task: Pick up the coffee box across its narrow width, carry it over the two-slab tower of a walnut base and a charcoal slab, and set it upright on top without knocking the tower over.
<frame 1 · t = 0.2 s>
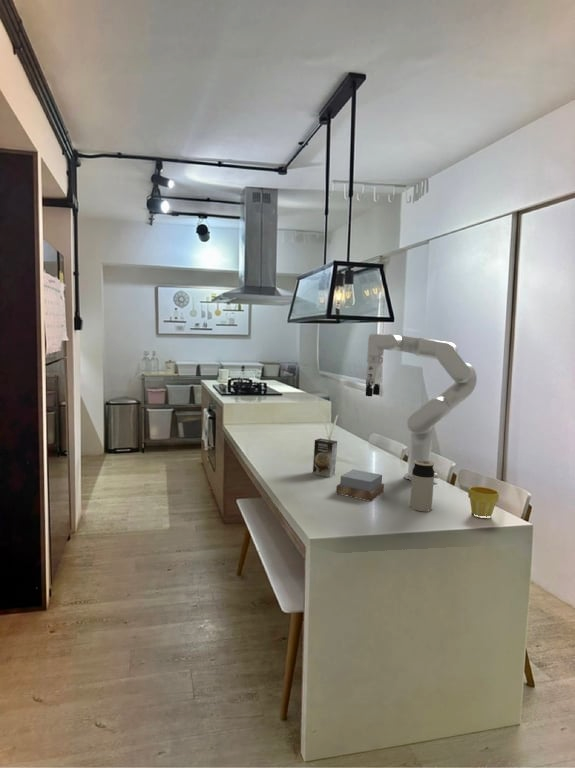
hand: (372, 395, 239), 37 cm above the countertop, tool pointing down, fingers open, 9 cm apart
plant pot: (481, 516, 184), on the countertop
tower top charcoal: (361, 484, 205), point 3 cm above the countertop, touching tower base walnut
travel mug: (420, 509, 189), on the countertop
tower base walnut: (360, 494, 205), on the countertop, touching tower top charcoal
coffee box: (323, 474, 231), on the countertop
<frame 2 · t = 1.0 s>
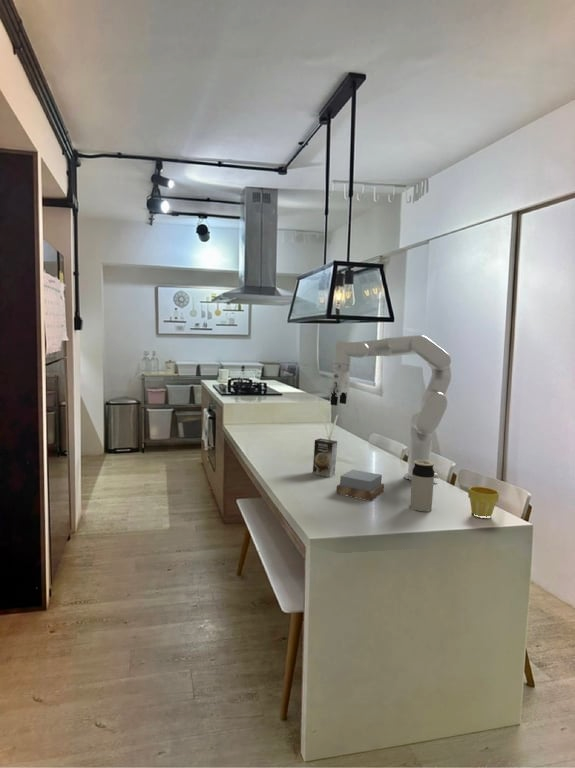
hand: (338, 404, 231), 33 cm above the countertop, tool pointing down, fingers open, 9 cm apart
nothing on the countertop moved.
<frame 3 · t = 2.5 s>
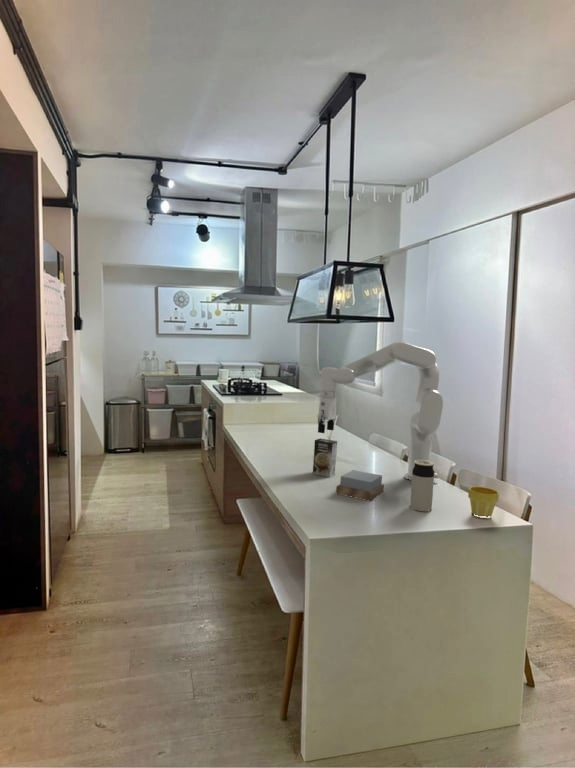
hand: (325, 431, 229), 20 cm above the countertop, tool pointing down, fingers open, 9 cm apart
nothing on the countertop moved.
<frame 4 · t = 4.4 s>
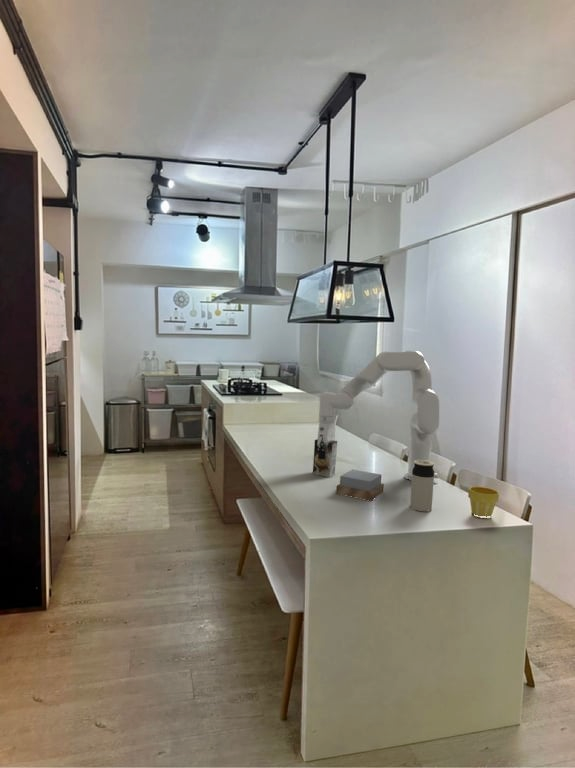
hand: (324, 457, 230), 8 cm above the countertop, tool pointing down, fingers closed on coffee box, 6 cm apart
coffee box: (323, 474, 231), on the countertop, touching gripper
everything else where it was.
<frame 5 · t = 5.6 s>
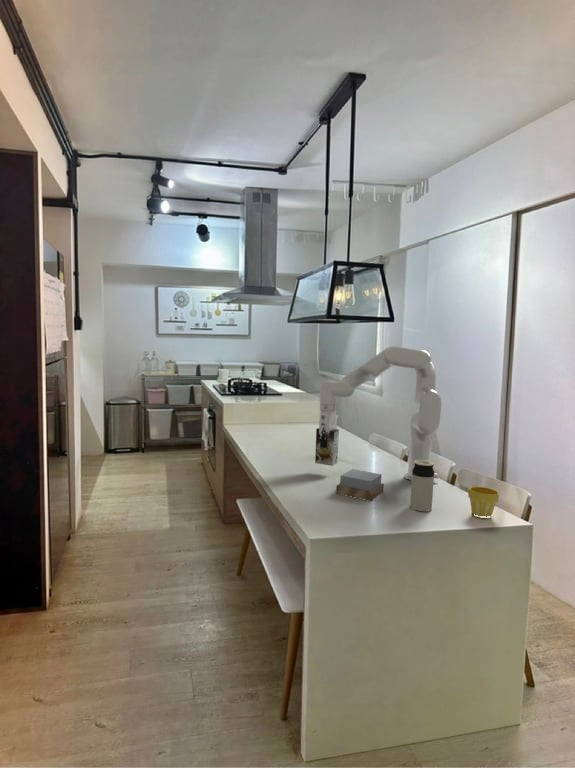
hand: (326, 445, 229), 14 cm above the countertop, tool pointing down, fingers closed on coffee box, 6 cm apart
coffee box: (326, 463, 230), point 5 cm above the countertop, touching gripper
everything else where it was.
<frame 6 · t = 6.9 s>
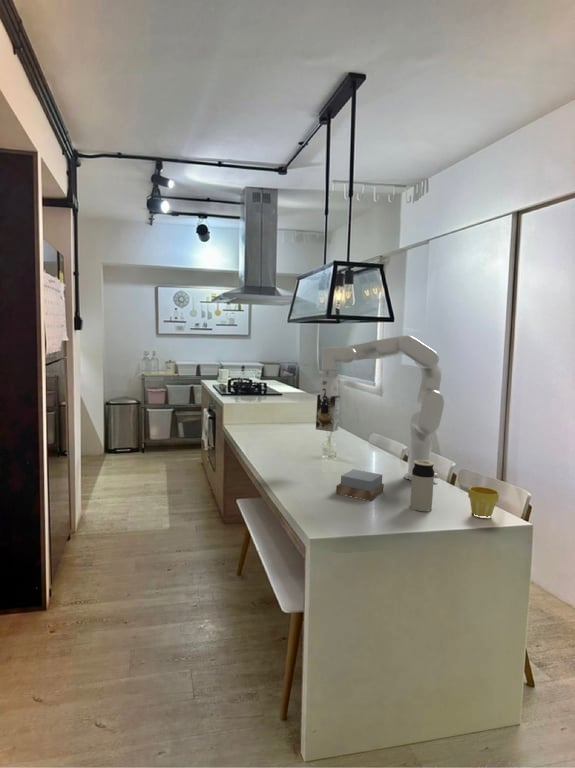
hand: (327, 412, 228), 29 cm above the countertop, tool pointing down, fingers closed on coffee box, 6 cm apart
coffee box: (326, 430, 229), point 21 cm above the countertop, touching gripper
everything else where it was.
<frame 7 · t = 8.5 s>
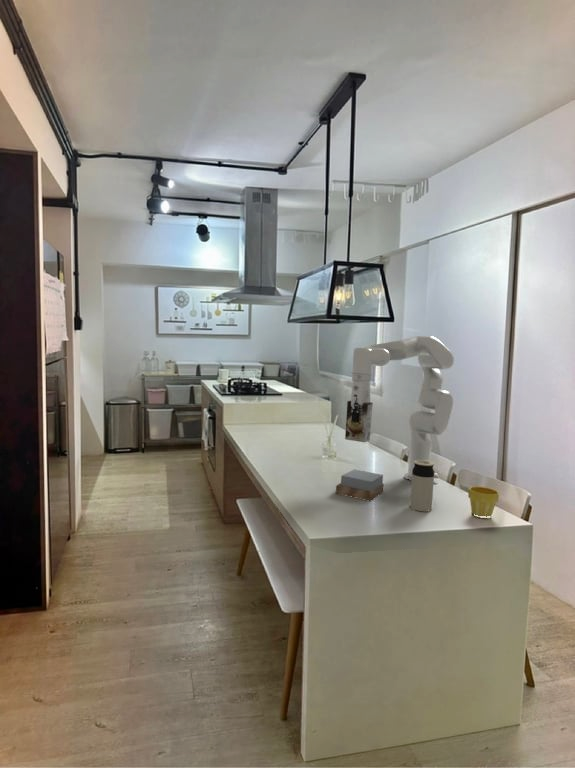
hand: (358, 420, 206), 30 cm above the countertop, tool pointing down, fingers closed on coffee box, 6 cm apart
coffee box: (357, 440, 207), point 21 cm above the countertop, touching gripper
everything else where it was.
when the fingers open (17 cm above the countertop, at t = 12.3 s): coffee box drops 2 cm, resting on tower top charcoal.
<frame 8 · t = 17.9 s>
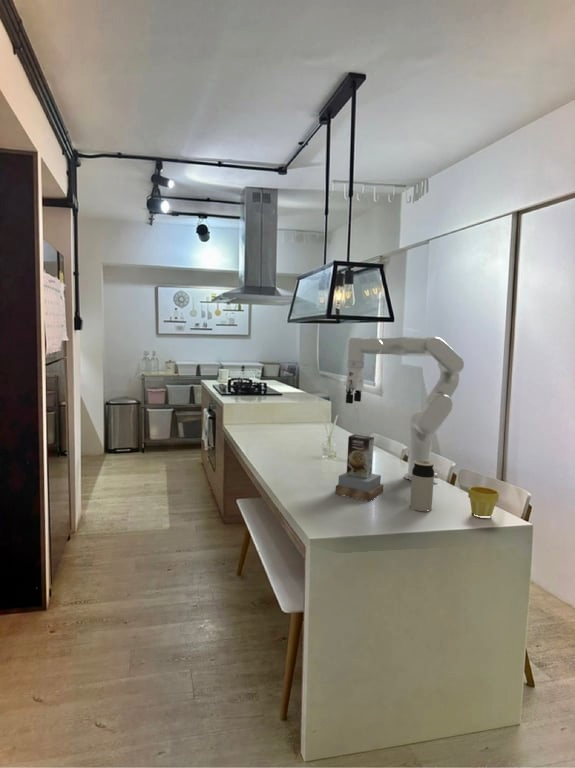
hand: (353, 402, 228), 34 cm above the countertop, tool pointing down, fingers open, 9 cm apart
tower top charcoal: (359, 485, 204), point 3 cm above the countertop, touching coffee box, tower base walnut
coffee box: (359, 475, 204), point 7 cm above the countertop, touching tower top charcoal
everything else where it was.
at the end: coffee box inside the target area (0.8 cm from its centre), point 7.4 cm above the countertop; coffee box tilted 4°; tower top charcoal 0.8 cm from the target spot, point 3.4 cm above the countertop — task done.
